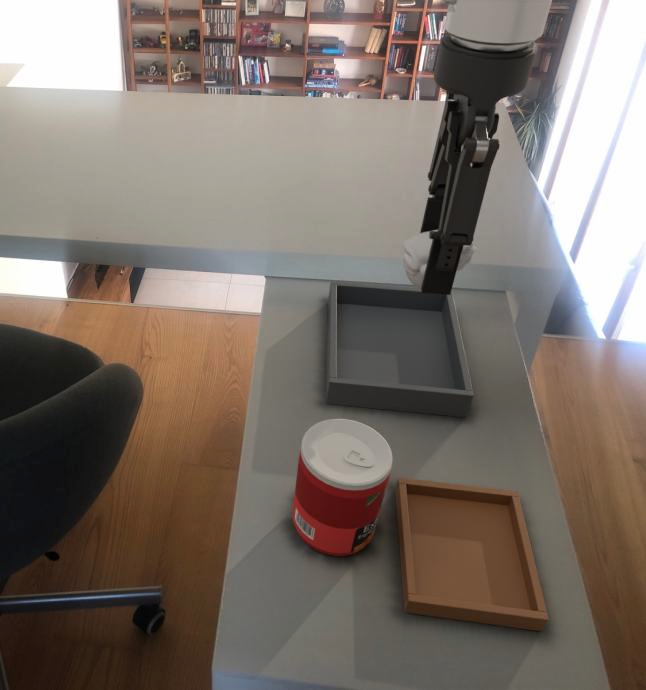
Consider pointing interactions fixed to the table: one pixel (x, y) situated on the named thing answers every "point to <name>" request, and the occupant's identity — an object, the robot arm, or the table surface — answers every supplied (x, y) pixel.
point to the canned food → (340, 485)
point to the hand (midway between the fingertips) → (432, 272)
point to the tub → (395, 350)
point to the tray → (467, 555)
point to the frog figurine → (426, 257)
